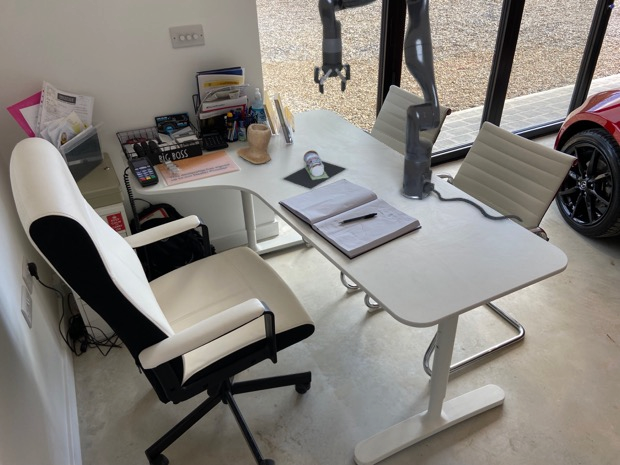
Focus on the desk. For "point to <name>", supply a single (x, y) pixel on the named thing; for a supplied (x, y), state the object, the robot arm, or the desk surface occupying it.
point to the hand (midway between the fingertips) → (332, 92)
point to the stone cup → (256, 144)
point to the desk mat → (309, 180)
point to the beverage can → (314, 163)
